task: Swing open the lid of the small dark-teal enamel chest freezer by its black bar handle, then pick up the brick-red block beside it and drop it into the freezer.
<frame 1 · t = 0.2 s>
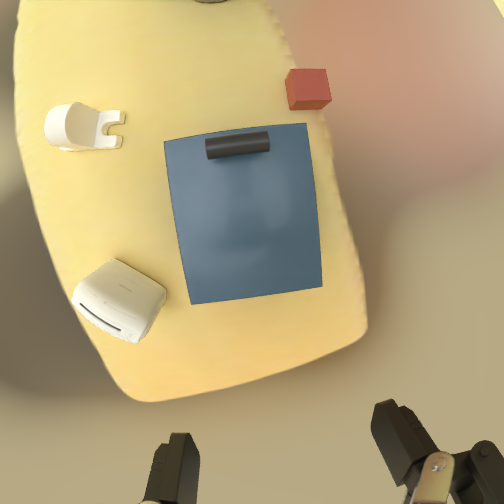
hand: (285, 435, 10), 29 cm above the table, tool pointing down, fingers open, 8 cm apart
photo printer: (136, 282, 38), on the table
freezer lid: (246, 217, 24), point 12 cm above the table, hinge at 0.0°
block: (303, 94, 33), on the table
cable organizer: (94, 132, 33), on the table
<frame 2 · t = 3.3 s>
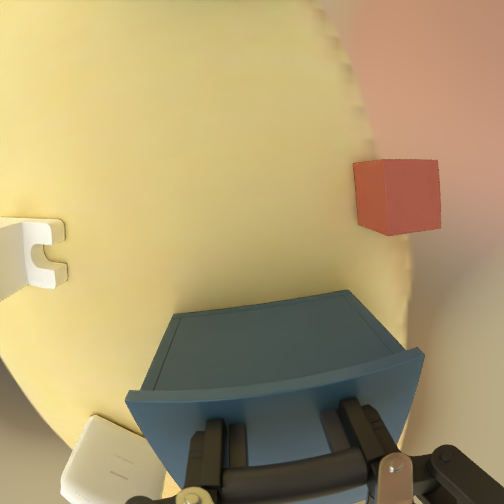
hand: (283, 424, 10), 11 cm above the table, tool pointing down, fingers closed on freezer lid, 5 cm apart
photo printer: (129, 436, 24), on the table
freezer lid: (292, 502, 10), point 12 cm above the table, hinge at -0.2°, touching freezer, gripper
freezer: (271, 381, 22), on the table
block: (381, 192, 19), on the table
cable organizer: (27, 247, 19), on the table
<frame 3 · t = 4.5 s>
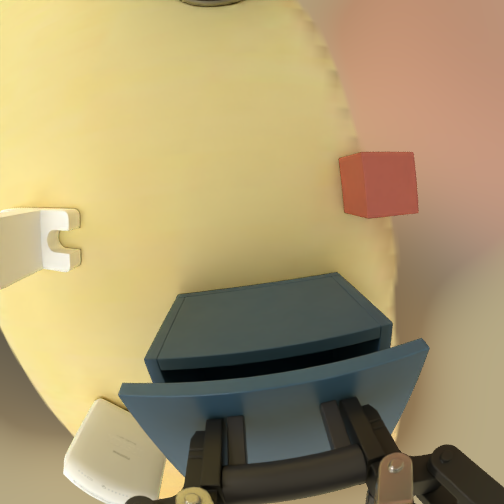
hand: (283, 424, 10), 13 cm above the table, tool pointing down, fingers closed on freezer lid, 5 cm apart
photo printer: (132, 420, 26), on the table
freezer lid: (290, 486, 11), point 14 cm above the table, hinge at 9.9°, touching gripper
freezer: (268, 361, 25), on the table
block: (365, 183, 21), on the table
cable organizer: (43, 235, 21), on the table
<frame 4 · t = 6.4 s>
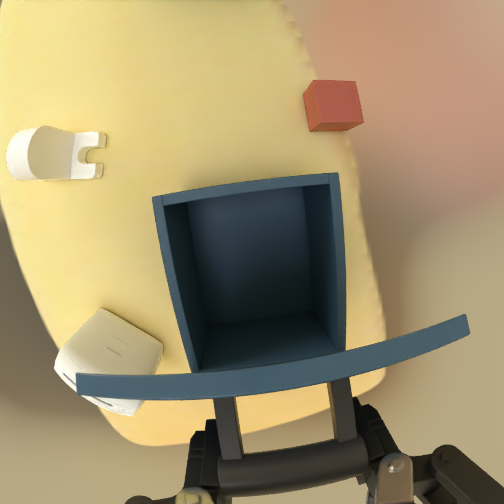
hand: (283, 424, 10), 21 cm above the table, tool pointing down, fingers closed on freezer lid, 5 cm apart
photo printer: (128, 334, 32), on the table
freezer lid: (279, 409, 14), point 18 cm above the table, hinge at 52.0°, touching gripper
freezer: (253, 256, 30), on the table
block: (325, 112, 27), on the table
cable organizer: (71, 158, 27), on the table
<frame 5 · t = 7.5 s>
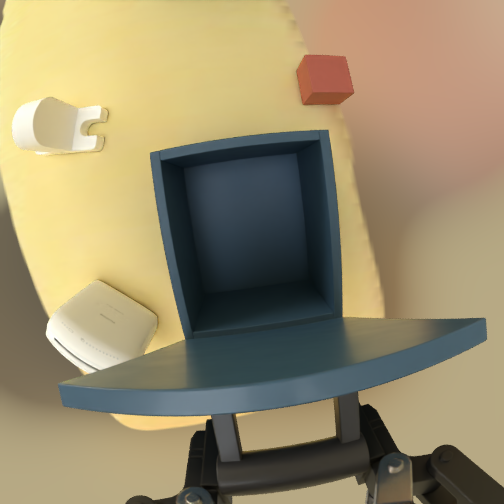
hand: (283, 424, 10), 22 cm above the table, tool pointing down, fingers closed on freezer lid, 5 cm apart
photo printer: (123, 306, 32), on the table
freezer lid: (275, 385, 14), point 19 cm above the table, hinge at 64.8°, touching gripper
freezer: (248, 223, 30), on the table
block: (318, 87, 27), on the table
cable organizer: (74, 132, 27), on the table
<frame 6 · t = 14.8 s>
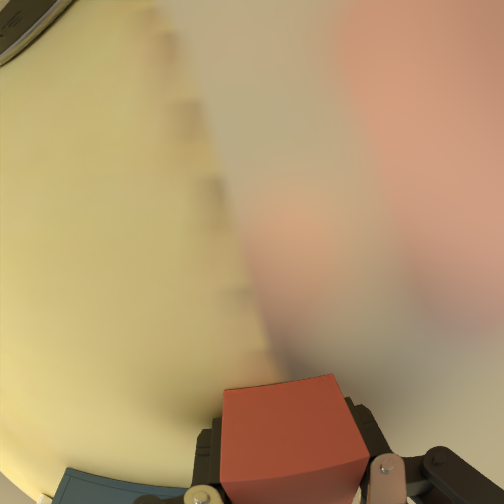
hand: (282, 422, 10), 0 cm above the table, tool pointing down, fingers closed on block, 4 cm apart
block: (282, 417, 11), on the table, touching gripper
when the fingers open (11 cm above the table, at t = 19.5 s): block drops 10 cm, resting on freezer.
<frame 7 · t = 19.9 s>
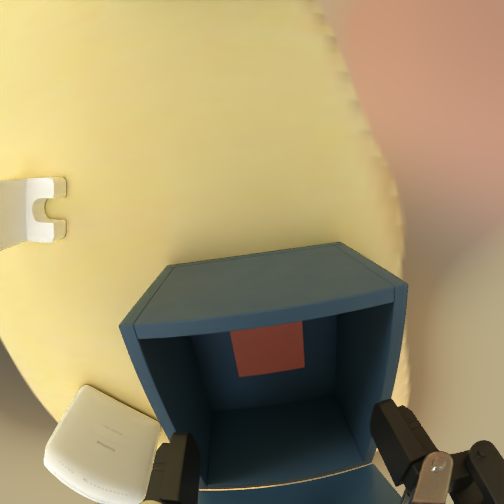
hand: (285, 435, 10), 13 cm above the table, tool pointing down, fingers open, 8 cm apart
photo printer: (120, 409, 25), on the table
freezer: (265, 342, 23), on the table
block: (262, 315, 21), point 1 cm above the table, touching freezer
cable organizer: (29, 207, 19), on the table
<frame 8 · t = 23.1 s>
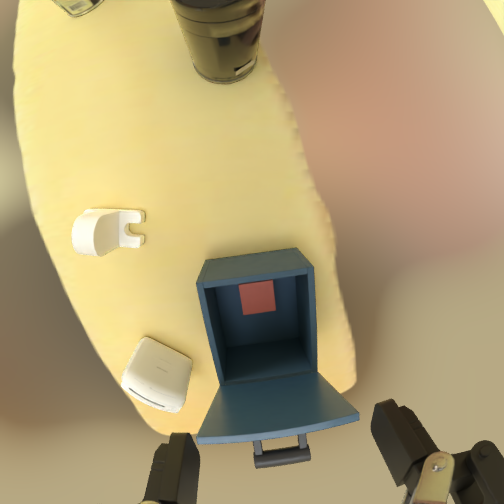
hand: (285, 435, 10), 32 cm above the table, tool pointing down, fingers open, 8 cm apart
photo printer: (166, 353, 45), on the table
freezer lid: (275, 418, 26), point 19 cm above the table, hinge at 65.0°
freezer: (257, 302, 43), on the table
block: (255, 286, 41), point 1 cm above the table, touching freezer
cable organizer: (116, 226, 39), on the table
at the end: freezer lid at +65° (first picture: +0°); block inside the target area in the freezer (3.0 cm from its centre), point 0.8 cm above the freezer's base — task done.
